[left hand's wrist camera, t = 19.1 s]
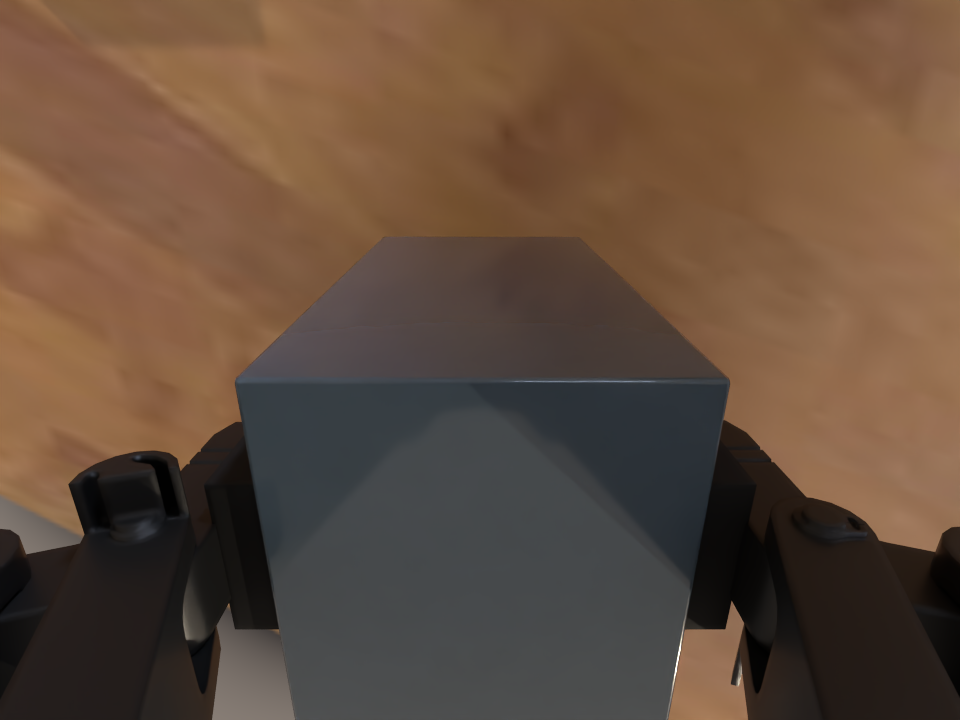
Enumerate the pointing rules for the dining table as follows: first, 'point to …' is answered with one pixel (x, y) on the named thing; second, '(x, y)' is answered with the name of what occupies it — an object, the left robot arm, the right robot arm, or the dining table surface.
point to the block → (482, 485)
